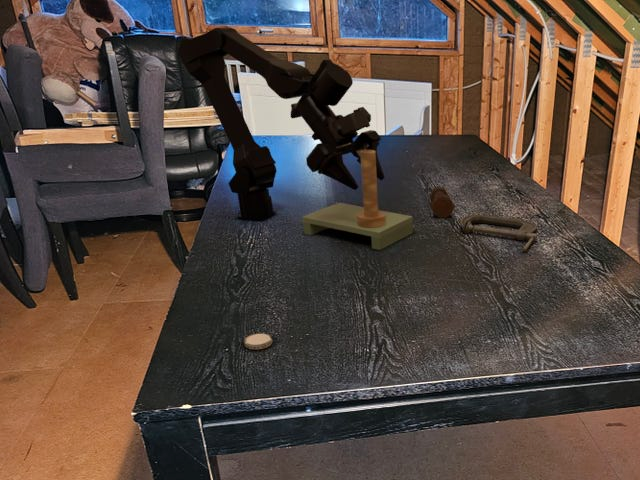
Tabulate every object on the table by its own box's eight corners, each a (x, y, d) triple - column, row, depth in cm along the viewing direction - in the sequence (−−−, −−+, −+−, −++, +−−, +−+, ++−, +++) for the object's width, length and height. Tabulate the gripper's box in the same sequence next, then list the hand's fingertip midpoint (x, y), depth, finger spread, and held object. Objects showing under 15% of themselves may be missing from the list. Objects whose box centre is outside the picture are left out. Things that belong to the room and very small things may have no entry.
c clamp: (553, 230, 150) (554, 218, 149) (526, 253, 136) (526, 240, 135) (473, 216, 157) (474, 205, 156) (440, 237, 144) (440, 225, 142)
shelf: (303, 233, 143) (302, 216, 141) (340, 218, 153) (339, 202, 151) (379, 250, 136) (378, 232, 134) (413, 233, 146) (412, 216, 144)
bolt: (440, 206, 170) (445, 222, 156) (423, 197, 168) (427, 212, 155) (452, 187, 168) (458, 201, 154) (434, 177, 166) (439, 191, 153)
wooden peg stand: (357, 228, 135) (352, 154, 128) (357, 219, 141) (352, 148, 133) (386, 227, 136) (383, 154, 129) (385, 219, 142) (382, 147, 134)
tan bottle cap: (239, 343, 98) (238, 339, 98) (261, 334, 101) (261, 330, 101) (255, 351, 96) (254, 348, 96) (277, 342, 99) (277, 338, 99)
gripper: (312, 99, 121) (364, 168, 122) (371, 89, 135) (417, 150, 137) (284, 138, 128) (334, 203, 129) (343, 124, 142) (387, 182, 143)
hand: (370, 183), depth 134 cm, fingers open, 9 cm apart
